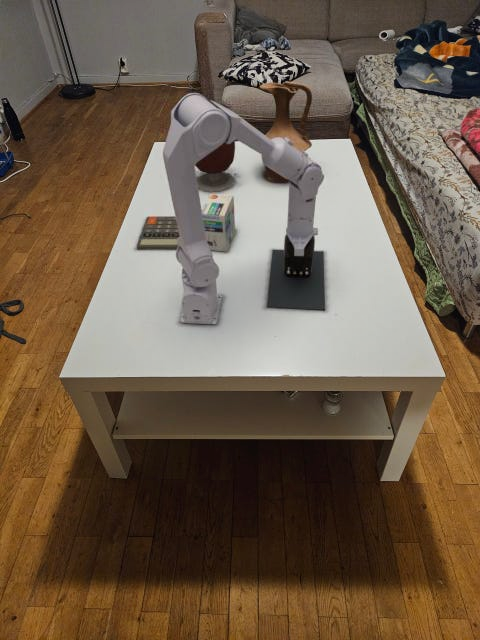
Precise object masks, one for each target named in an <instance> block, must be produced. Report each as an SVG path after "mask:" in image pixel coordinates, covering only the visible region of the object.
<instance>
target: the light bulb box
mask: <svg viewBox="0 0 480 640" xmlns="http://www.w3.org/2000/svg"><path fill="white" fill-rule="evenodd" d="M201 210H202V216H203V222H204V229H205V235H206V240H207V243H208V245H209V248H210V250H211V251H216V252H228V250H229V248H230V246H231V243H232V241H233V238H234V236H235V233H236V220H235V217H236V216H235V198H234V195H230V194H219V193H209V194H208V196H207V198H206V201H205V202H204V204H203V206H202V207H201Z"/></svg>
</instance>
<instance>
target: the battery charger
mask: <svg viewBox="0 0 480 640" xmlns="http://www.w3.org/2000/svg"><path fill="white" fill-rule="evenodd" d="M315 236H316V235H313V236H312V237H311V239H310V240H309V242H308V243H307V245H312V250H311V252H310V253H309V255H308V256H307V258H306V260H305V263H304V266H303V268H302V270H293V267H292V262H291V257H290V255H289V253H288V252H287V249H286V245H287V243H291V241H290V239H289V238H288V236H287V234H286V233H285V235H284V240H283V241H284V242H283V250H284V274H285V275H286V276H288V277H309V276H310V275H311V272H312V260H313V256H314V251H315V244H316V237H315Z"/></svg>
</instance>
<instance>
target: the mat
mask: <svg viewBox="0 0 480 640" xmlns="http://www.w3.org/2000/svg"><path fill="white" fill-rule="evenodd" d="M324 256H325V255H324V251H321V250H320V251H319V250H316V251H315V250H314V256H313V260H312V272H311V275H310V276H309V277H288V276H286V275H285V274H284V249H272V252H271V261H270V271H269V278H268V280H269V281H268V289H267V298H266V308H267V309H284V310H285V309H286V310H302V311H303V310H304V311H321V312H324V311H325V312H326V294H325V293H326V291H325V289H326V288H325V262H324V261H325V258H324Z"/></svg>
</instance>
